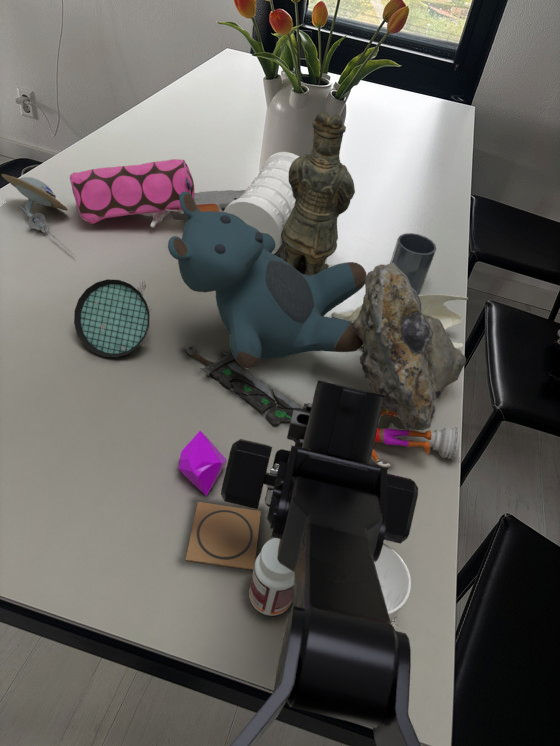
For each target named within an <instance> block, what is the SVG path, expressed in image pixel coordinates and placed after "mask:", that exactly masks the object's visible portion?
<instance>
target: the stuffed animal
mask: <svg viewBox="0 0 560 746" xmlns="http://www.w3.org/2000/svg"><path fill="white" fill-rule="evenodd" d="M179 200H180V205H181V208H182V210H183V211H184V213H185V214H186V215H187V216H188V219H187V221H184V225H183V231H182V236H181V237H180V236H177V235H173V236H171V237H170V238H169V240H168V242H167V248H168V249H167V250H168V252H169V254H170V256H171V257H172V258H174V259H175V260H177V264H178V269H179V273H180V277H181V279H182V281H183V283H184V284H185V285H186V286H187V287H188V289H190V290H191V291H193V292H196V293H211V292H215V301H216V306H217V309H218V311H219V312H218V313H219V316H220V319H221V321H222V323H223V325H224V327H225V329H226V332H227V333H228V335H229V348H230V349H229V350H230V352H231V355H233V357H234V359H235V360H236V363H237V365H238V366H239V367H241V368H242V369H243V368H244V369H253V368H255V367H256V366H257V365H258V364H259V363H260V361H261V360H274V359H282V358H287V357H291V356H294V355H299V354H304V353H308V352H309V353H311V352H332V353H350V352H351V353H352V352H356V351H359V350H360V349H362V347H363V346H362V345H363V341H362V339H361V338H360V337H359V336H358V335H357V333H356V330H354V327H353V323H352V322H349V321H346V320H342V319H337V318H331V316H325V315H327V314H328V313H329V312H330V311H332V310H333V309H335V308H336V307H337V306H339V305H340V304H342V303H344V302H345V301H346V300H348V299H349V298H351V297H352V296H353V295H355V294H357V293H358V292H359V291H360V290H361V289H363V287H365V277H366V276H367V272H366V269H365V268H364V267H363V265H362V264H360V263H358V262H354V261H347V262H342V263H338V264H334V265H331V266H328V268H326V269H324V270H322V271H321V272H319V273H317V274H315V275H311V276H308V275H304V274H301V273H300V272H299V271H297V270H296V269H295V268H294V267H293V266H291V265H290V264H289V263H287V262H286V261H284V259H283V258H281V257H280V256H278V255H276V254H272V251H273V250H274V249H275V245H276V244H275V241H274V239H273V237H272V236H270V235H269V234H266V233H261V232H259V231H258V230H257V229H256V228H254V227H252V226H250V225H248V224H246V223H245V222H244V221H243V220H242V219H240V218H239V217H237V216H235V215H233V214H230V213H226V212H214V211H206V212H201V211H200V210H199V209H198V208H197V206H196V204H195V201H194V199H193V197H192V196H191V194H190V193H188V192H186V191H183V192H182V193H181V194H180V197H179Z"/></svg>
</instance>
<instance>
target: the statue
mask: <svg viewBox="0 0 560 746" xmlns="http://www.w3.org/2000/svg"><path fill="white" fill-rule="evenodd" d="M343 123H344V122H343V118H342V116H341V115H339V114H334V115H333V116H330V114H329V113H328V112H326V111H320V112H318V114H317V115H316V116H315V118H314V119H313V120H312V123H311V124H312V128H313V139H312V141H313V142H312V143H313V146H312V149H311V151H310V154H307V153H306V154H301V155H299V157H298V158H296V159H295V160H294V161H293V162H292V164H291V166H290V169H289V183H290V185H291V188H292V192H293V197H294V198H295V199H296V201H295V205H294V207H293V209H292V211H291V213H290V216H289V217H288V219H287V221H286V223H285V225H284V228H283V230H282V233H281V237H282V241H283V242H282V243H284V259H283V260H284V261H286V262H287V263H289V264H290V265H291V266H293V267H294V268H295V269H296V270H297V271H299V272H300V273H301V274H304V275H308V276H311V275H315V274H317V273H319V272H321V271H322V270H324V269H326V268H329V264H328V263H326V262H327V259H328V258H329V257H331V256H333V254H334V253H335V252H336V250H337V248H338V239H339V233H338V218H339V216H340V215H341V214H344V213H345V212H346V211H347V210H348V208H349V206H350V204H351V200H352V199H353V198H354V195H355V193H356V189H355V188H356V187H355V183H354V179H353V177H352V174H351V173H350V172H349V170H348V168H347V166H346V165H345V164H344V163H342V162H341V159H340V154H341V147H342V146H341V145H342V142H343V139H344V134H345V133H346V132H347V131H346V130H347V126H346V125H345V124H343Z"/></svg>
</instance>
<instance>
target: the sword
mask: <svg viewBox="0 0 560 746" xmlns="http://www.w3.org/2000/svg"><path fill="white" fill-rule="evenodd" d="M185 351H186V353H187V354H188V355H189V356H190V357H192V358H193V359H195V360H196V361H198V362H199V363H200V364H202V366H204V367H201V368H199V370H200V371H202V372H203V373H204V374H206V376H208V377H210V376H212V377H213V378H214V379H215V380H218V381H219V382H220V383H221V384H222V385H223V386H225V387H226V388H227V389H231V388H232V387H233V390H232V391H233V392H235V393H236V394H238V395H239V396H240V397H241V398H243V399H244V400H245V401H246V402H248V403H249V404H250V405H252V406H253V407H254V408H255V409H256V410H258V411H259V412H260V413H261V415H262V414H264V413H265V412H266V411H267V410H268V409H269V410H268V411H267V412H266V413H265V418H266V419H267V420H268V421H269V422H270V423H271V424H272V425H273V426H279V425H280V423H290V422H291V418H292V413H293V409H294V408H299V409H301V406H300V405H298V404H297V403H296V402H294V401H293V400H292V399H289V398H288V397H287V396H285V395H283V394H282V393H280V391H278V390H276V389H272V392H273V393H271V390H270V386H269V385H268V384H266V383H264V382H262V381H261V380H259V379H257V378H256V377H254V376H252V374H250V373H249V372H247V371H246V370H244V369H243V367H241V366H240V365H239V364H238V363H237V362H236V360H235V359H234V357H233V355H232V354H230V353H227V352H224V351H223V352H222V354H223V355H224V357H222V358H221V359H218V360H217V361H214V362H213V361H211V360H208V359H206V358H205V357H203V356H202V355H200V354H198V353H197V352H196V347H195V346H193V345H191V344H190V345H186V348H185ZM277 404H278V405H277Z"/></svg>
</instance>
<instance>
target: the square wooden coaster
mask: <svg viewBox="0 0 560 746" xmlns="http://www.w3.org/2000/svg"><path fill="white" fill-rule="evenodd" d="M261 515H262V511H261V510H258V509H251V508H243V507H237V506H230V505H223V504H215V503H208V502H202V501H197V503H196V508H195V513H194V518H193V523H192V528H191V531H190V537H189V542H188V545H187V552H186V557H185V561H186V562H193V563H199V564H205V565H212V566H221V567H228V568H235V569H242V570H249V571H253V570H254V565H255V561H256V558H257V551H258V541H259V532H260V523H261Z"/></svg>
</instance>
